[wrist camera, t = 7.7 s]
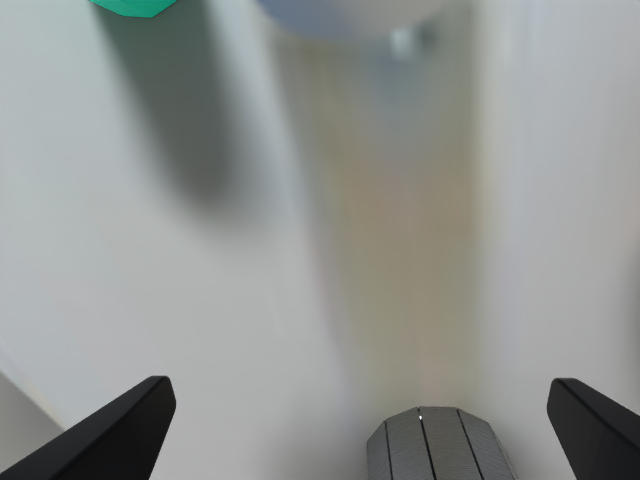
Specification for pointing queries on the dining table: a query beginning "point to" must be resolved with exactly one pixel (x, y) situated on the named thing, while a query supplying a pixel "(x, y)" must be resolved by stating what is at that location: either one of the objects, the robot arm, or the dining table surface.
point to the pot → (436, 448)
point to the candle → (135, 6)
